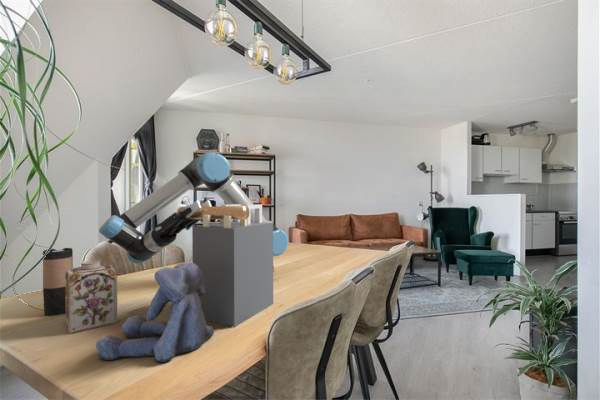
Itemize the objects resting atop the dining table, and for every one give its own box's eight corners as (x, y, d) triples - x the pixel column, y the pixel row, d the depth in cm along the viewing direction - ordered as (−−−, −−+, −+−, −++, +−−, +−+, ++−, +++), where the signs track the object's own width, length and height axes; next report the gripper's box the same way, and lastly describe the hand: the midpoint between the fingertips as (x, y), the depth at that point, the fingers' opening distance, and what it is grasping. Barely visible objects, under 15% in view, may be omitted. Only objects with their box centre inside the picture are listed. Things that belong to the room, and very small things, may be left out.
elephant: (140, 323, 90) (139, 253, 89) (223, 327, 87) (223, 255, 87) (84, 361, 69) (83, 270, 69) (191, 367, 67) (190, 273, 66)
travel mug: (56, 317, 94) (56, 252, 94) (36, 315, 96) (36, 251, 95) (79, 308, 102) (78, 248, 101) (60, 306, 103) (59, 247, 103)
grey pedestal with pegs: (236, 297, 113) (235, 204, 112) (273, 303, 106) (273, 204, 105) (192, 317, 94) (192, 205, 94) (234, 327, 87) (234, 206, 87)
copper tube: (178, 220, 101) (175, 209, 100) (187, 216, 104) (184, 205, 103) (242, 221, 89) (240, 208, 88) (250, 216, 93) (248, 204, 92)
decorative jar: (68, 335, 82) (67, 268, 82) (64, 321, 91) (64, 261, 91) (119, 322, 90) (118, 261, 90) (111, 311, 99) (110, 256, 99)
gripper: (184, 243, 113) (227, 213, 104) (142, 250, 98) (188, 216, 89) (176, 225, 115) (218, 194, 106) (134, 229, 100) (178, 193, 91)
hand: (204, 204), depth 97 cm, fingers closed on copper tube, 4 cm apart
